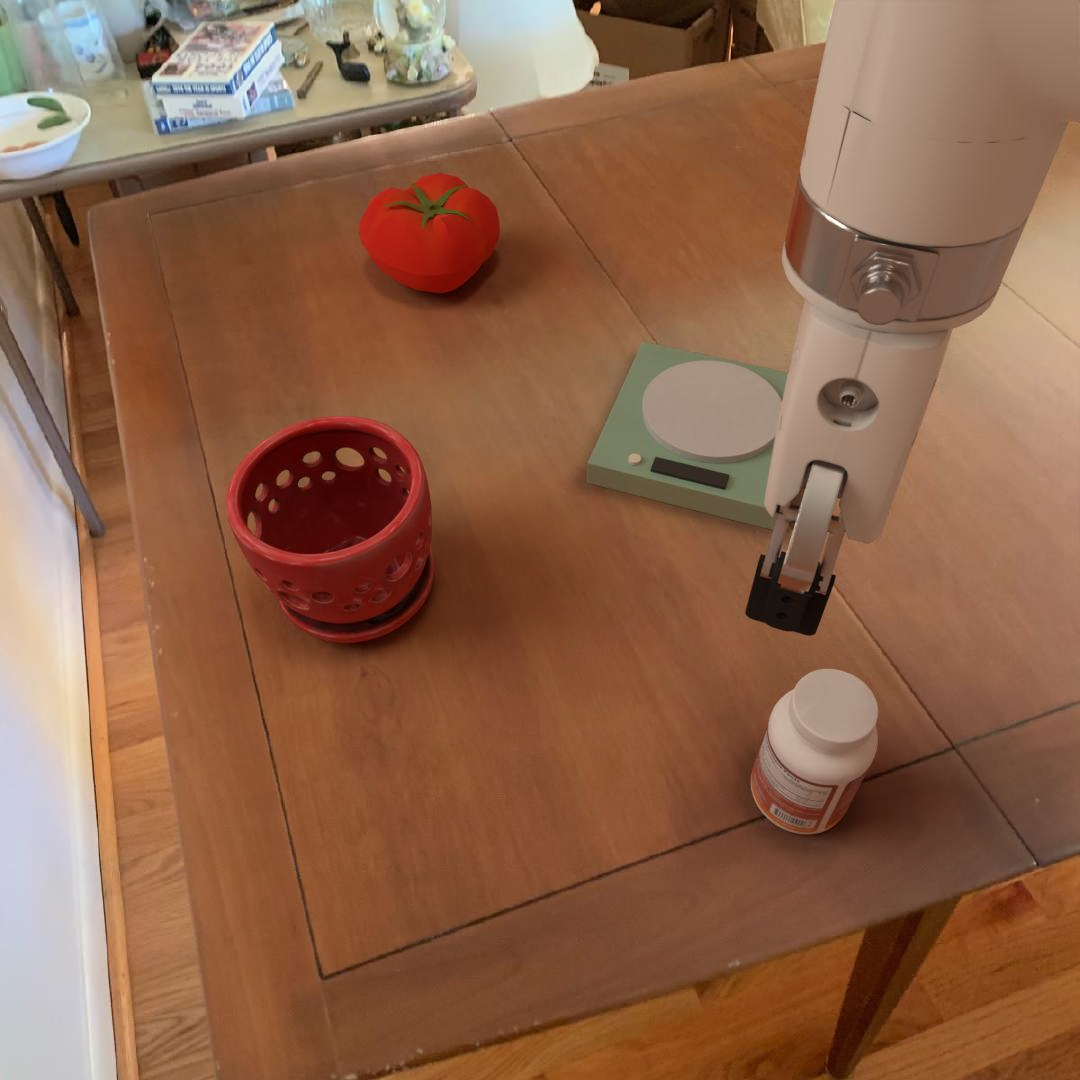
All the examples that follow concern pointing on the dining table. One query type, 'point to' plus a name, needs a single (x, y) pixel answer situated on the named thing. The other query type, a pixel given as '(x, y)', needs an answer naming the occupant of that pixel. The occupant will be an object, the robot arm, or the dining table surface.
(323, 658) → the dining table surface
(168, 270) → the dining table surface
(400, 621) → the flower pot
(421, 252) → the tomato
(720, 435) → the scale
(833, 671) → the pill bottle
